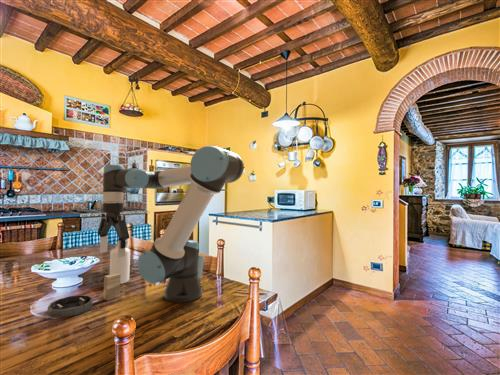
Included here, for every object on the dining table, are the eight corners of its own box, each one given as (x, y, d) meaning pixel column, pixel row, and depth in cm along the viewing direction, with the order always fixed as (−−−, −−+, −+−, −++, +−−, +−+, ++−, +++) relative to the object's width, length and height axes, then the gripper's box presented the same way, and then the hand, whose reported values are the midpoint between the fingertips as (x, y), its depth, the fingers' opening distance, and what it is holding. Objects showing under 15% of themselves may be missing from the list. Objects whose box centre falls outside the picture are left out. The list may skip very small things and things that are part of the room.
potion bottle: (121, 285, 117) (122, 246, 117) (105, 284, 119) (106, 244, 119) (132, 279, 125) (134, 242, 125) (117, 278, 127) (119, 241, 127)
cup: (199, 274, 134) (199, 254, 135) (206, 279, 128) (206, 258, 129) (185, 277, 130) (186, 256, 130) (192, 282, 124) (192, 260, 124)
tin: (98, 307, 95) (98, 300, 95) (56, 321, 84) (56, 314, 84) (83, 298, 102) (83, 292, 102) (42, 310, 92) (42, 303, 92)
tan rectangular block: (119, 296, 105) (120, 274, 105) (107, 300, 101) (107, 277, 101) (116, 294, 107) (116, 272, 107) (103, 298, 103) (104, 275, 103)
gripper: (139, 202, 103) (138, 256, 102) (107, 201, 117) (106, 249, 116) (121, 203, 96) (119, 260, 96) (89, 202, 110) (87, 252, 110)
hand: (112, 254), depth 106 cm, fingers open, 13 cm apart
